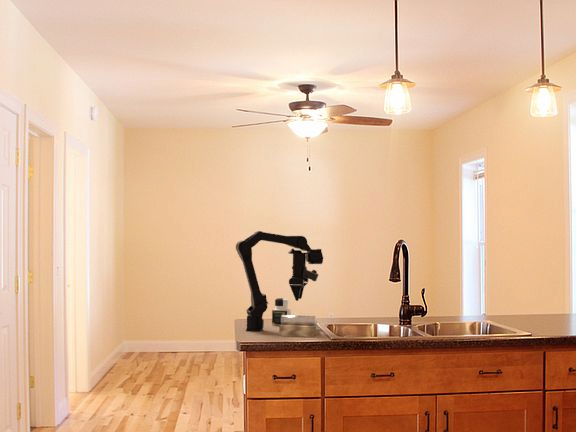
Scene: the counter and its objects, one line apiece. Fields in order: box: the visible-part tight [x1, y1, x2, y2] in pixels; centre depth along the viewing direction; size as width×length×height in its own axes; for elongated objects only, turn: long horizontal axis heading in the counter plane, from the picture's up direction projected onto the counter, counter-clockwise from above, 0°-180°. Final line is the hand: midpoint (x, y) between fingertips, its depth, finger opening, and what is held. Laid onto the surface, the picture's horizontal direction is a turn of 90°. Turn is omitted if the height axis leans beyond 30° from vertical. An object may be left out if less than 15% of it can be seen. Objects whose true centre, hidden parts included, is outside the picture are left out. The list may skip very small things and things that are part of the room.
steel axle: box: [281, 314, 316, 327], centre depth 286 cm, size 14×4×4 cm, turn 81°
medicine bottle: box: [271, 297, 292, 326], centre depth 316 cm, size 7×7×12 cm
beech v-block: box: [278, 323, 317, 338], centre depth 286 cm, size 14×11×4 cm
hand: (298, 299), depth 301 cm, fingers open, 9 cm apart
